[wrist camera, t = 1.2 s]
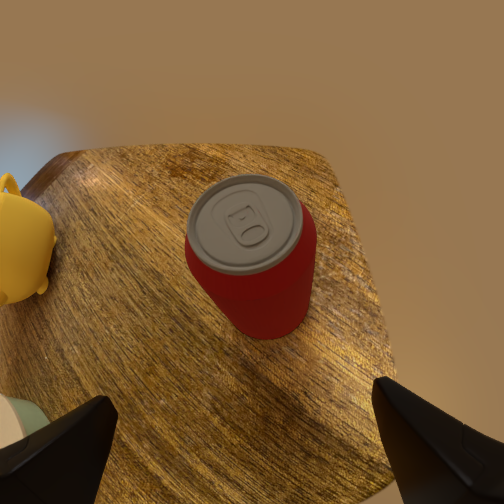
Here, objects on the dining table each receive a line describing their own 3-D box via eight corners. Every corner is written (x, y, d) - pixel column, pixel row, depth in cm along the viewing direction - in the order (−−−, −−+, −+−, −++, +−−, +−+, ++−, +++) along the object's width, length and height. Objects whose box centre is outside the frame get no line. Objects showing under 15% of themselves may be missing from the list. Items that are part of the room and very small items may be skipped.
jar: (63, 505, 14) (32, 511, 10) (6, 459, 17) (-22, 457, 12) (65, 420, 20) (30, 417, 15) (10, 384, 22) (-20, 376, 17)
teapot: (-2, 346, 24) (-71, 313, 14) (21, 223, 34) (-26, 178, 23) (55, 345, 24) (-35, 304, 13) (77, 199, 34) (27, 138, 23)
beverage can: (282, 251, 25) (270, 146, 15) (325, 314, 22) (350, 236, 12) (214, 288, 24) (156, 203, 14) (250, 357, 21) (204, 317, 11)
